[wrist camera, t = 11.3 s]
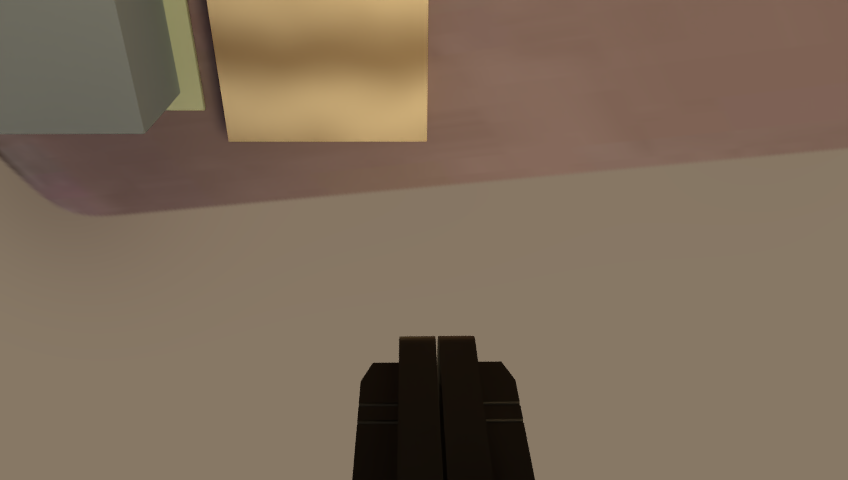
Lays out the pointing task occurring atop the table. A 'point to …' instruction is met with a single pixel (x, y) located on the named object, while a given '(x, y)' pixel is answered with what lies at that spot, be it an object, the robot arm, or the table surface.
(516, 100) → the table surface
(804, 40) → the table surface
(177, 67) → the mat
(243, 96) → the block
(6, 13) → the box
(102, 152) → the table surface
